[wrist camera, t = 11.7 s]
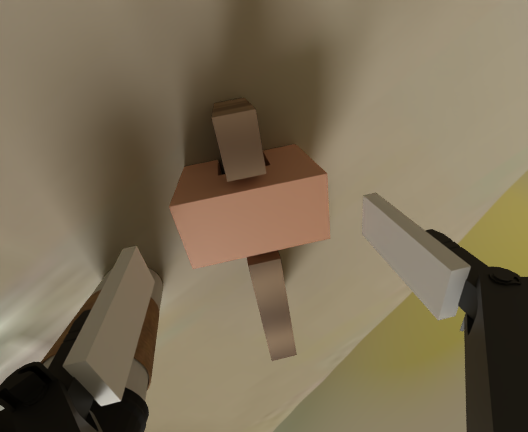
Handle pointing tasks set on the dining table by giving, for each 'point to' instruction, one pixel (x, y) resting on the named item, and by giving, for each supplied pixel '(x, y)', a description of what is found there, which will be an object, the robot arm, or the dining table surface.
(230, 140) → the slotted board
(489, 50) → the dining table surface
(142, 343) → the coffee cup
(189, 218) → the notched block
